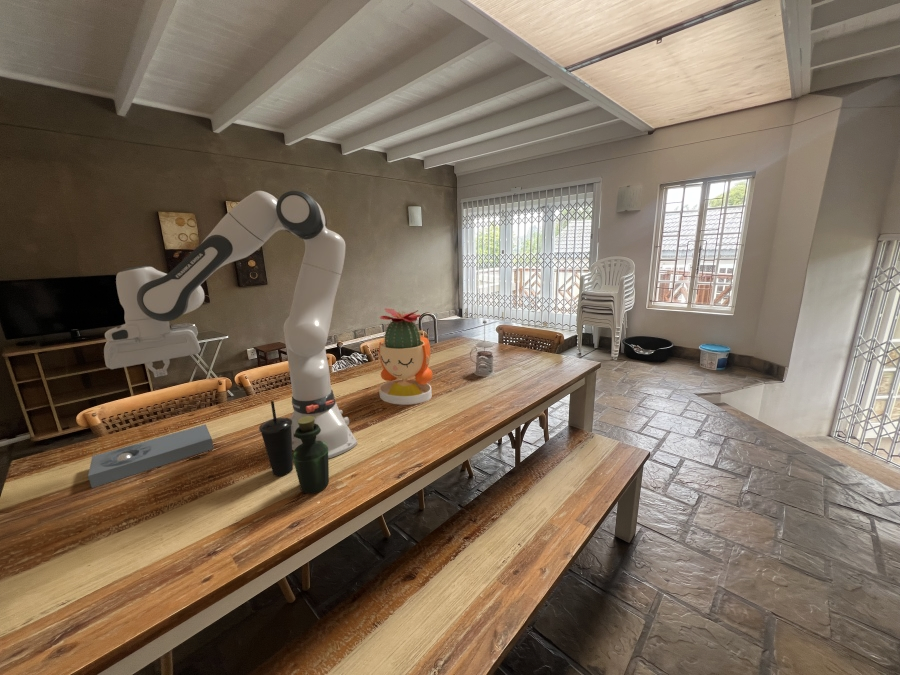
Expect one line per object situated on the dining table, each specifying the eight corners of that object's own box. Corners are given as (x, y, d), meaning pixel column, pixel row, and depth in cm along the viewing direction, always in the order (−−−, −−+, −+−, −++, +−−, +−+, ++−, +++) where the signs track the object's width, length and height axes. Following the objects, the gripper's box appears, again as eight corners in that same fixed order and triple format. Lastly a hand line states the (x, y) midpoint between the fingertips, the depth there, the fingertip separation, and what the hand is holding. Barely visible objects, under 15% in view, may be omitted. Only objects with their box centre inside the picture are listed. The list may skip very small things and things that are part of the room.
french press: (496, 376, 158) (496, 322, 152) (470, 376, 158) (470, 322, 152) (493, 369, 168) (494, 318, 162) (469, 369, 168) (469, 318, 162)
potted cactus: (422, 407, 129) (418, 314, 120) (369, 400, 136) (362, 311, 127) (442, 386, 148) (439, 304, 140) (395, 381, 155) (390, 303, 147)
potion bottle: (336, 474, 91) (328, 411, 86) (326, 496, 83) (317, 427, 78) (304, 476, 91) (295, 412, 86) (291, 497, 83) (281, 428, 78)
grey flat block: (207, 434, 113) (205, 424, 112) (213, 448, 104) (211, 438, 103) (95, 467, 96) (92, 456, 96) (91, 488, 88) (87, 476, 87)
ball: (138, 459, 96) (123, 454, 94) (126, 473, 95) (110, 467, 92) (138, 454, 99) (123, 448, 97) (126, 466, 98) (111, 461, 95)
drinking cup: (278, 483, 88) (266, 410, 83) (261, 474, 92) (248, 403, 87) (304, 467, 94) (295, 399, 89) (287, 459, 98) (277, 393, 93)
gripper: (194, 320, 103) (203, 364, 107) (98, 332, 90) (112, 382, 94) (197, 323, 99) (207, 369, 102) (96, 336, 86) (111, 388, 89)
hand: (161, 375), depth 98 cm, fingers closed
